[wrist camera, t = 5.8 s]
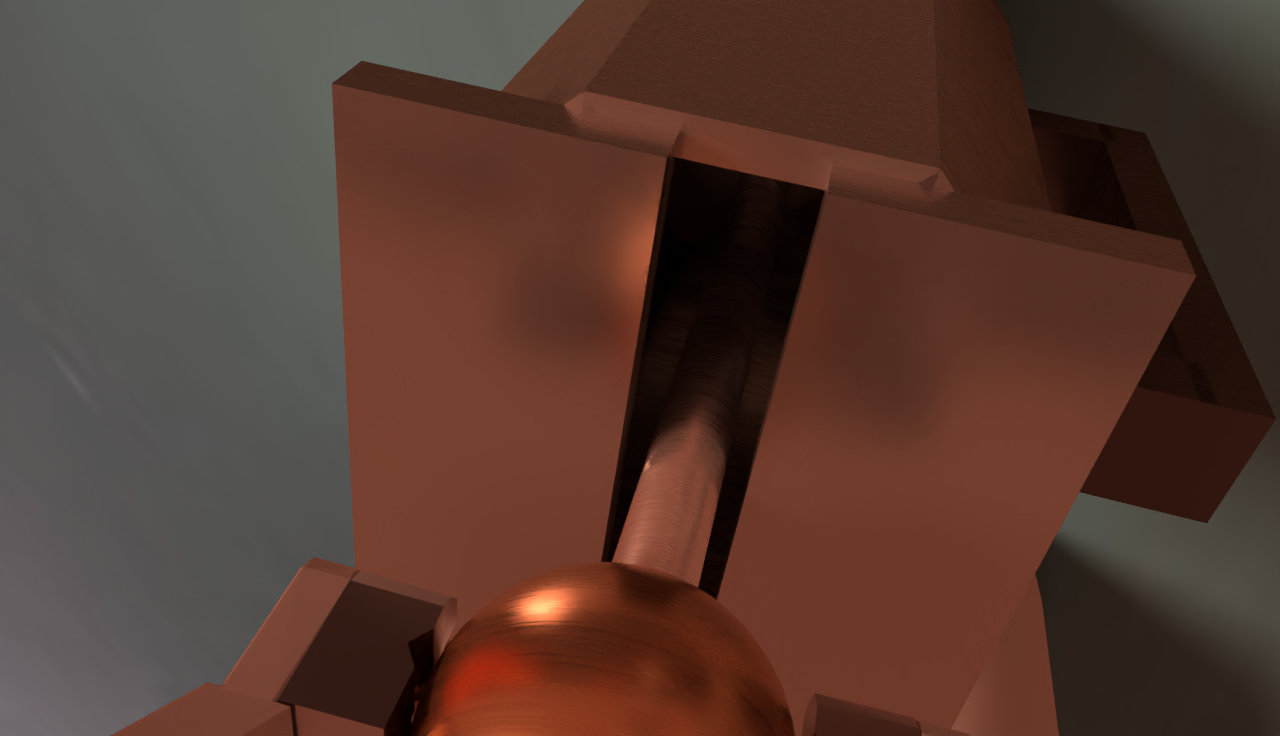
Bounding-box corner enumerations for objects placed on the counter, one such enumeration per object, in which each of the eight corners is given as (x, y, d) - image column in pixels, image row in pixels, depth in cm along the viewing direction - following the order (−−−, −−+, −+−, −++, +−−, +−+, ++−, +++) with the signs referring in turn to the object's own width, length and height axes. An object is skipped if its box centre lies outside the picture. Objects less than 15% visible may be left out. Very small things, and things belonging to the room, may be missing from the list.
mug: (1094, 531, 33) (1162, 880, 24) (926, 729, 40) (928, 1057, 31) (819, 426, 33) (780, 735, 24) (700, 643, 40) (635, 945, 31)
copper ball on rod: (651, -74, 20) (72, 554, 6) (993, -6, 20) (1171, 856, 6) (611, 225, 25) (203, 1007, 11) (893, 290, 24) (859, 1215, 10)
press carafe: (657, -182, 24) (312, 60, 10) (1180, -82, 23) (1571, 337, 9) (613, 168, 29) (345, 631, 16) (1034, 262, 28) (1142, 850, 15)
